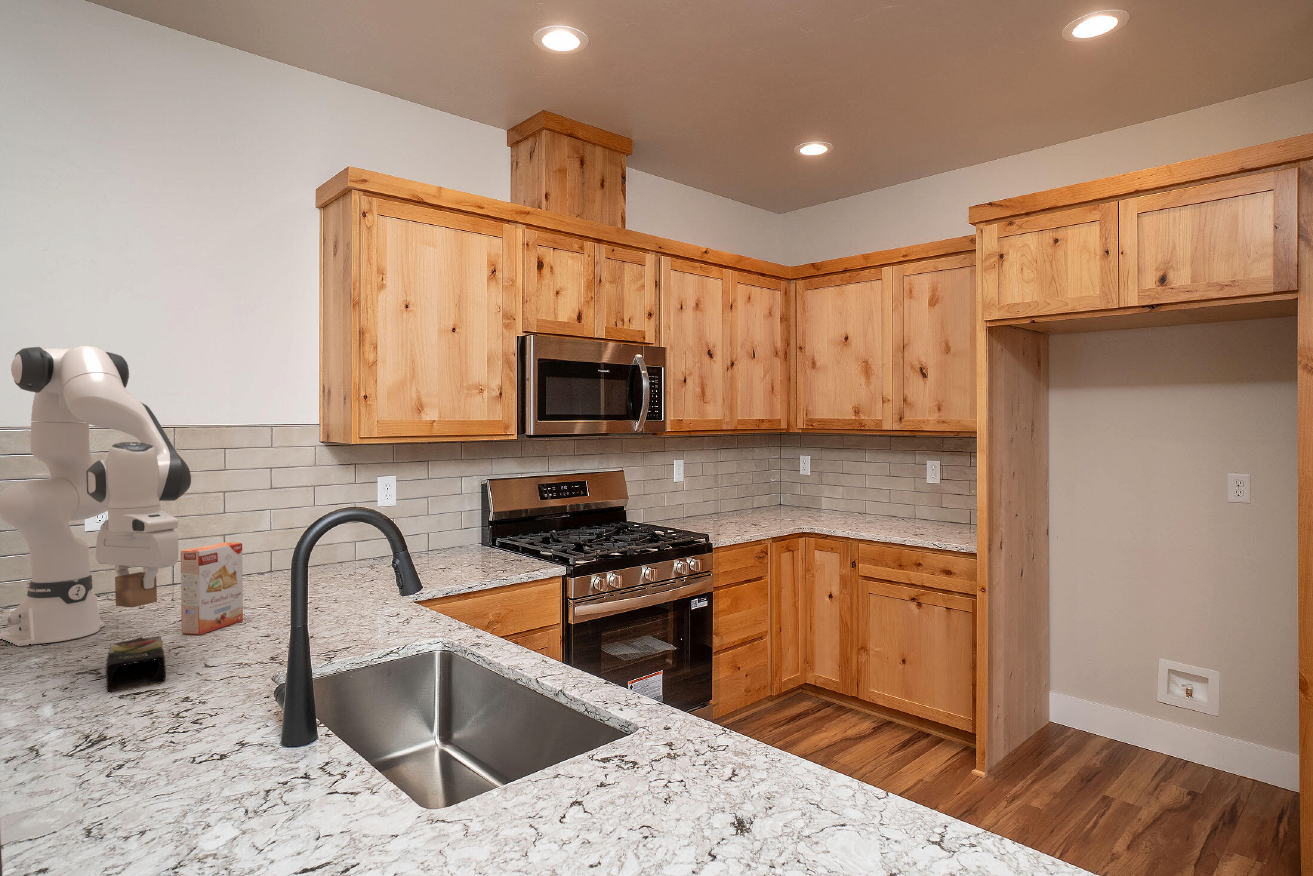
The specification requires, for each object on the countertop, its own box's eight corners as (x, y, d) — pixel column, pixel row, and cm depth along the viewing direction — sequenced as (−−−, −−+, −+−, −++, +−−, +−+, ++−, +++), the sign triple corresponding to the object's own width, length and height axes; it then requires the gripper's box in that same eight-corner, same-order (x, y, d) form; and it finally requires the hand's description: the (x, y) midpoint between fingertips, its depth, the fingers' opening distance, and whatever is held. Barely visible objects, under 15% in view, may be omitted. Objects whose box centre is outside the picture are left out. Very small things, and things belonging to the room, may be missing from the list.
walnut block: (115, 605, 147) (114, 576, 147) (140, 600, 152) (140, 572, 152) (132, 607, 145) (131, 578, 145) (157, 601, 150) (156, 573, 150)
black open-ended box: (106, 667, 153) (106, 639, 153) (162, 658, 159) (162, 631, 159) (104, 696, 137) (104, 664, 137) (167, 685, 143) (166, 654, 143)
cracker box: (201, 635, 175) (199, 550, 175) (180, 634, 177) (178, 550, 176) (245, 620, 189) (243, 541, 189) (225, 619, 190) (223, 541, 190)
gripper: (85, 521, 149) (87, 587, 149) (153, 524, 142) (155, 593, 142) (117, 517, 155) (119, 581, 155) (184, 520, 148) (185, 586, 148)
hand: (136, 587), depth 149 cm, fingers closed on walnut block, 5 cm apart
